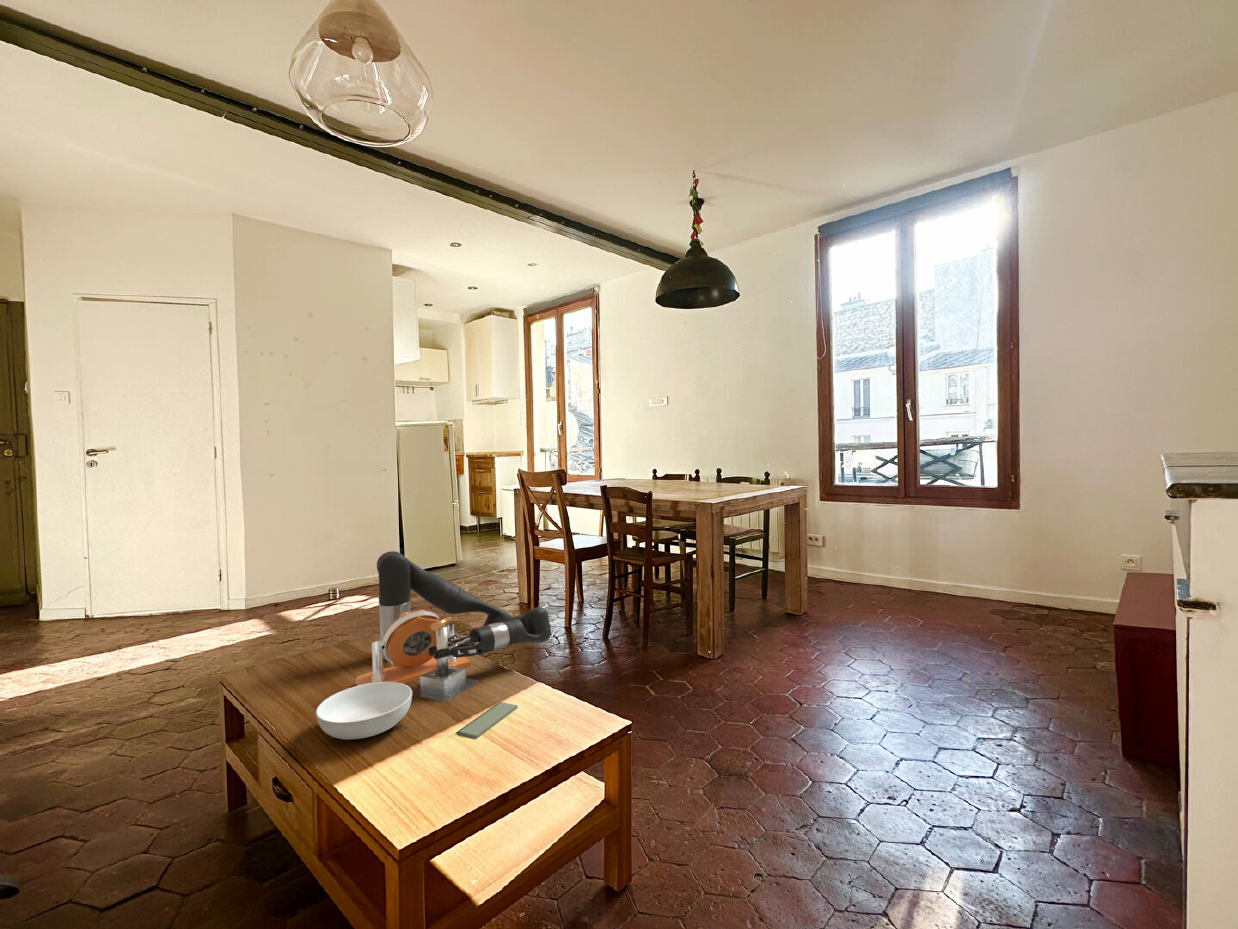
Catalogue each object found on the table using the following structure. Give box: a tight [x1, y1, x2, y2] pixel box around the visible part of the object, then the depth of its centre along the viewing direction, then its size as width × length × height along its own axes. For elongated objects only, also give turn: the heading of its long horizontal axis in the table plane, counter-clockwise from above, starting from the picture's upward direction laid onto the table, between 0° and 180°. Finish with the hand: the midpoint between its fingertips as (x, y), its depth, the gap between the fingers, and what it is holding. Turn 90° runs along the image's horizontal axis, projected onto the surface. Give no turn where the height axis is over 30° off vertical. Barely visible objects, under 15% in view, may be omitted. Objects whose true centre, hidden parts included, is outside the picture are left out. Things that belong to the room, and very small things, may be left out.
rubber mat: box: [455, 701, 519, 739], centre depth 139 cm, size 16×16×1 cm
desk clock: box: [355, 609, 472, 686], centre depth 164 cm, size 12×30×20 cm, turn 128°
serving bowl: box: [315, 682, 413, 741], centre depth 134 cm, size 21×21×7 cm
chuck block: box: [411, 666, 481, 703], centre depth 154 cm, size 14×14×5 cm
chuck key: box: [429, 616, 454, 678], centre depth 154 cm, size 7×4×18 cm, turn 155°
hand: (431, 653), depth 152 cm, fingers closed on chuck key, 3 cm apart
